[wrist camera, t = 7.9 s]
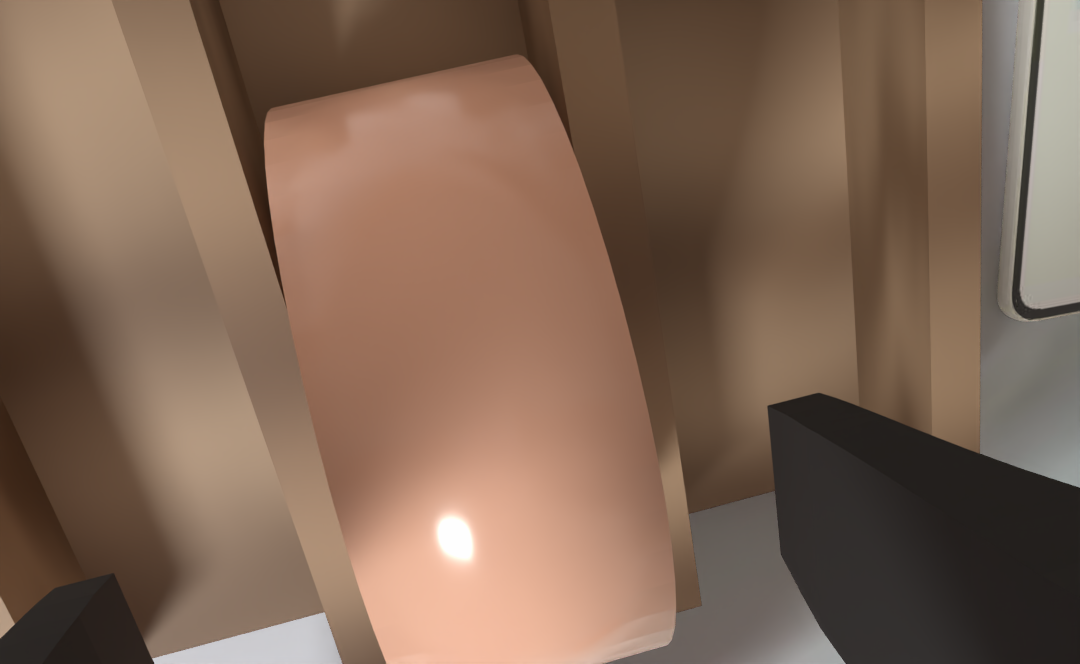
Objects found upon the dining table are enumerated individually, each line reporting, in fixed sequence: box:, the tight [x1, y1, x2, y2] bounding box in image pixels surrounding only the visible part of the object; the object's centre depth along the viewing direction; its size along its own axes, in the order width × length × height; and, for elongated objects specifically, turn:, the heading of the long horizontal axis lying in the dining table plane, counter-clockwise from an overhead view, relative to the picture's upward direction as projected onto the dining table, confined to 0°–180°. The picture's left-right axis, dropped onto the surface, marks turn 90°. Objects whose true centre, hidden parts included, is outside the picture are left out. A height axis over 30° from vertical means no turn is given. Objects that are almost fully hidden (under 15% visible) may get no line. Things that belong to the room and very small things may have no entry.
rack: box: [0, 0, 982, 664], centre depth 18 cm, size 14×19×4 cm
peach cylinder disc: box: [264, 54, 676, 664], centre depth 15 cm, size 9×4×9 cm, turn 11°
